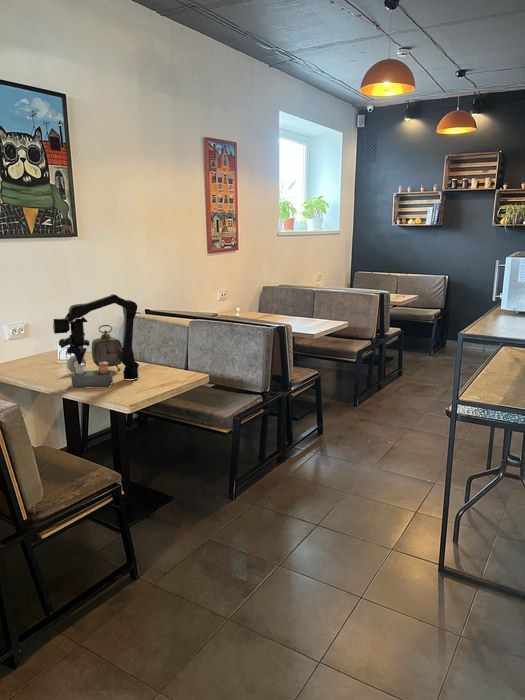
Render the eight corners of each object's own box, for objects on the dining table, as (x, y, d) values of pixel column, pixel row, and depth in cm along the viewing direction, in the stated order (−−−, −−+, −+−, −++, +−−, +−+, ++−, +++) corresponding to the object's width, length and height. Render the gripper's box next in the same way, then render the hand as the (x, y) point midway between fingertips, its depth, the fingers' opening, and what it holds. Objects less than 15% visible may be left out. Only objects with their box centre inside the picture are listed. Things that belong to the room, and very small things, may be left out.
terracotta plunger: (109, 372, 248) (108, 361, 247) (107, 375, 244) (107, 363, 243) (100, 373, 248) (99, 361, 247) (98, 375, 244) (97, 364, 242)
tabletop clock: (95, 374, 265) (92, 327, 260) (92, 370, 273) (89, 324, 268) (123, 371, 272) (121, 325, 267) (119, 367, 280) (117, 322, 275)
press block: (112, 382, 252) (112, 370, 251) (109, 387, 243) (108, 375, 242) (77, 382, 250) (76, 371, 249) (72, 388, 241) (71, 375, 240)
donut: (70, 375, 263) (68, 356, 261) (66, 374, 266) (65, 355, 264) (87, 371, 271) (86, 353, 269) (84, 370, 273) (83, 352, 271)
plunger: (86, 374, 247) (85, 362, 246) (84, 376, 243) (83, 365, 242) (76, 374, 247) (76, 363, 246) (74, 376, 243) (73, 365, 241)
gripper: (65, 328, 249) (67, 359, 252) (53, 335, 231) (56, 369, 234) (88, 328, 250) (90, 359, 253) (79, 335, 232) (81, 368, 235)
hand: (79, 364), depth 244 cm, fingers closed, pressing on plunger
